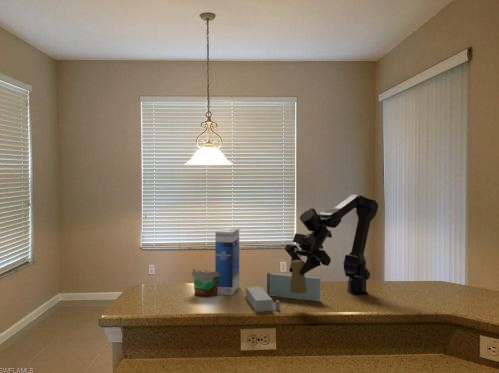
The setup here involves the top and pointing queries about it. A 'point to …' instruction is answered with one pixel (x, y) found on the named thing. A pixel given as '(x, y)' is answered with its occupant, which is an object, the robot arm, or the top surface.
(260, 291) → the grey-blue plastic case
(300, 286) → the beige waisted cylinder
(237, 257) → the string lights box
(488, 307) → the top surface
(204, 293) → the food container
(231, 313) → the top surface
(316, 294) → the cover
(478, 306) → the top surface
